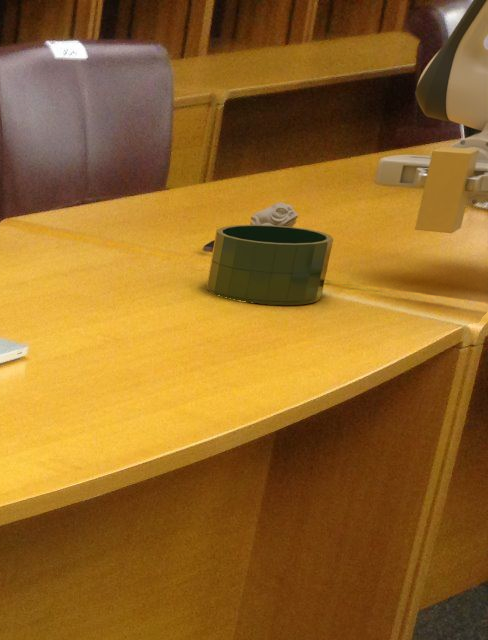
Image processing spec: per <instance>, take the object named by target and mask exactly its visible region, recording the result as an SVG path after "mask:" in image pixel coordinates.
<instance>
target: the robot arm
mask: <svg viewBox="0 0 488 640" xmlns="http://www.w3.org/2000/svg"><path fill="white" fill-rule="evenodd" d="M487 36H488V0H472V2H471V3H470V5H469V6H468V8H467V9H466V11H465V12H464V14H463V16H461V18H460V20H459V22H458V23H457V25H455V28H454V29H453V31H452V32H451V33H450V35H449V36H448V38H447V40H446V41H445V43H444V44H443V45H442V47H441V48H440V49H439V50H438V51H437V53H435V54H434V56H433V57H432V58H431V59H430V61H429V62H428V63H427V65H426V66H425V68H424V69H423V71H422V73H421V74H420V77H419V79H418V81H417V85H416V89H415V91H414V93H415V98H416V100H417V103H418V105H419V108H420V109H421V111H422V112H423V115H425V117H428V118H432V119H436V120H441V121H445V122H449V123H452V122H453V123H456V124H459V125H463V126H465V127H468V128H471V129H474V130H477V131H480V132H477V133H474V134H472V135H469V136H467V137H465V138H463V139H460V140H458V141H455V142H453V144H451V145H450V146H448V147H452V148H466V149H479V154H478V158H477V162H476V166H475V170H474V175H473V176H469V177H468V179H467V185H466V187H465V191H469V195H468V200H467V204H466V206H473V205H477V204H487V203H488V49H487V48H486V47H485V44H484V41H485V39H486V38H487ZM431 156H432V155H423V154H422V155H420V154H419V155H418V154H395V155H388V156H384V157H382V158H380V159H379V161H378V164H377V168H376V171H375V172H376V173H375V177H374V183H375V185H377V186H380V187H387V188H389V187H390V188H400V189H410V190H411V189H412V190H423V191H424V187H425V182H426V178H427V173H428V169H429V165H430V160H431Z"/></svg>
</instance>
